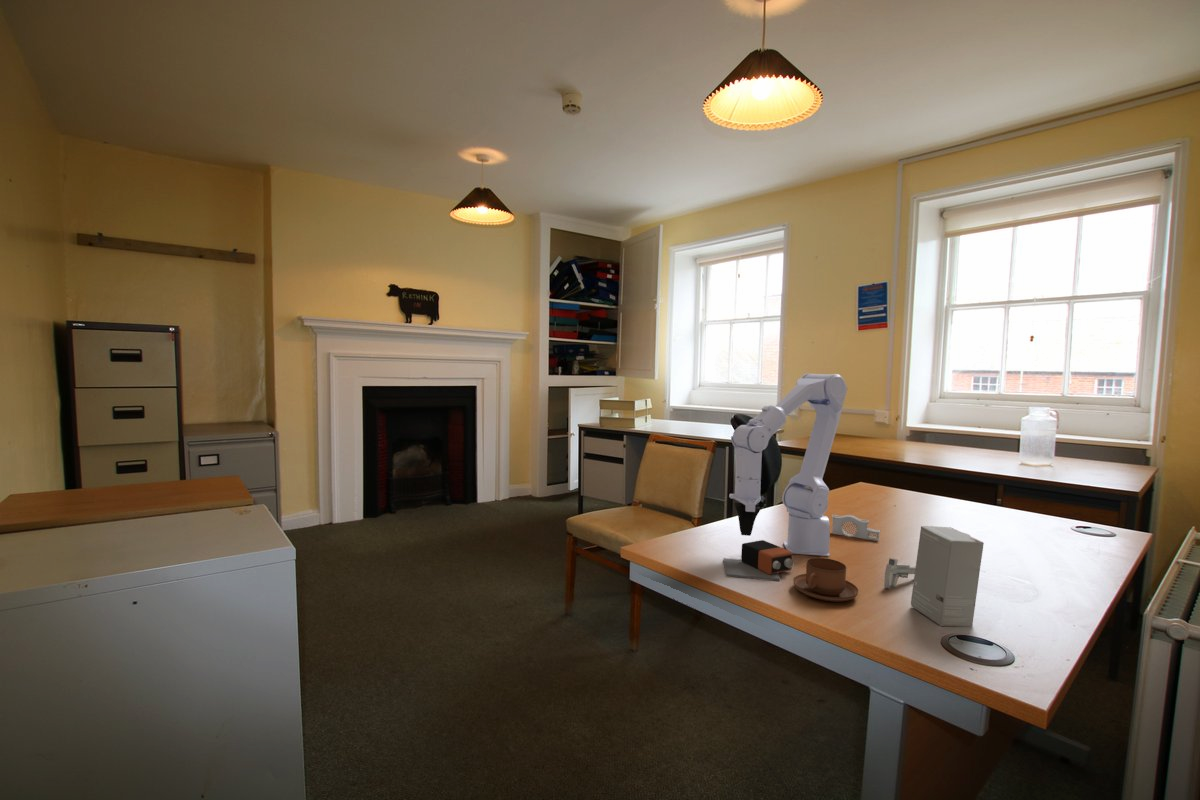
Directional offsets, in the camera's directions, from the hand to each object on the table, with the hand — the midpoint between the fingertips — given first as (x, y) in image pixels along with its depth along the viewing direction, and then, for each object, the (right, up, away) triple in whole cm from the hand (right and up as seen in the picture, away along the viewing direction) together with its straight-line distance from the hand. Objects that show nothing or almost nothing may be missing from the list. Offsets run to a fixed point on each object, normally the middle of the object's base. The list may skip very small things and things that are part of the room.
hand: (745, 534), depth 126 cm
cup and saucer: (+11, -8, -18) cm, 22 cm away
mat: (-1, -6, -6) cm, 9 cm away
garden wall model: (+35, -6, +20) cm, 41 cm away
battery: (+1, -3, -1) cm, 4 cm away
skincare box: (+29, -8, -27) cm, 41 cm away
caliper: (+34, -8, -10) cm, 36 cm away
